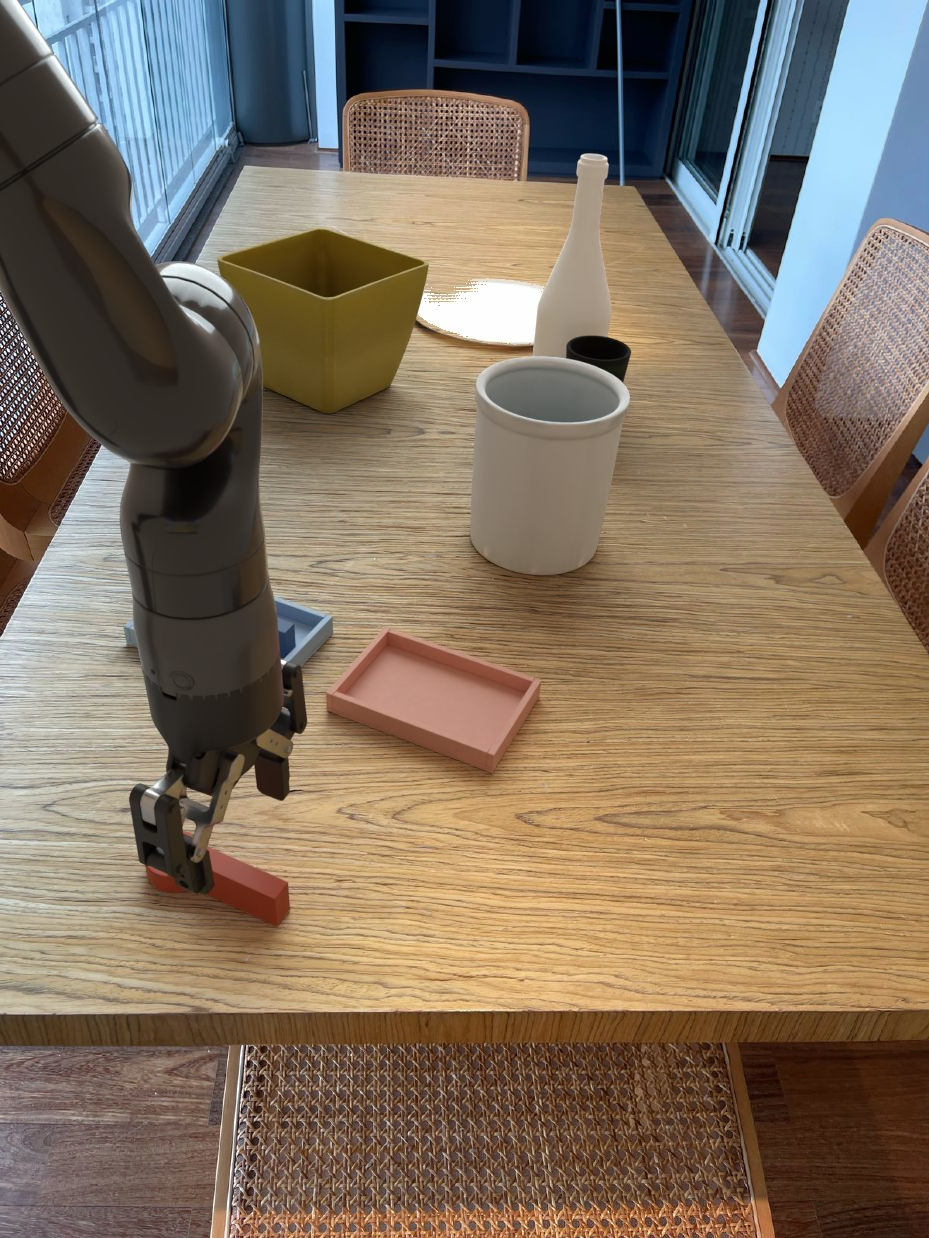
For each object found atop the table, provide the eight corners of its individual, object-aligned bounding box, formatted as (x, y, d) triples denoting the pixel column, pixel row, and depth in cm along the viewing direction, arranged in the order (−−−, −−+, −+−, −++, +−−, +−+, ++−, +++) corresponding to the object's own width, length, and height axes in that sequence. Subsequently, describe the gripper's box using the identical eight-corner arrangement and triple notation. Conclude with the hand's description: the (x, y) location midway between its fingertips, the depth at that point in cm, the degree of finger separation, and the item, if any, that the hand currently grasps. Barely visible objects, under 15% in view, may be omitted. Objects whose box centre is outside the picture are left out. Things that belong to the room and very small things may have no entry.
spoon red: (299, 896, 69) (298, 868, 67) (267, 941, 66) (264, 913, 64) (171, 839, 72) (166, 811, 70) (135, 879, 69) (128, 851, 67)
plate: (595, 293, 168) (596, 285, 167) (587, 361, 145) (588, 353, 144) (424, 274, 170) (424, 267, 170) (389, 338, 147) (389, 330, 147)
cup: (542, 435, 126) (553, 344, 118) (583, 419, 130) (596, 330, 123) (587, 459, 121) (601, 366, 114) (628, 442, 126) (644, 351, 118)
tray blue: (333, 633, 92) (332, 616, 91) (271, 699, 84) (269, 681, 83) (196, 585, 97) (194, 568, 95) (126, 643, 89) (122, 626, 88)
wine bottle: (610, 392, 137) (647, 157, 119) (578, 416, 131) (612, 171, 112) (550, 373, 141) (577, 143, 123) (515, 395, 134) (539, 156, 116)
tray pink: (539, 697, 87) (541, 679, 85) (492, 773, 79) (494, 755, 78) (384, 643, 91) (384, 626, 90) (326, 710, 84) (325, 692, 83)
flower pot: (428, 386, 135) (433, 260, 125) (331, 433, 123) (328, 298, 112) (324, 346, 144) (321, 226, 133) (224, 387, 131) (212, 258, 121)
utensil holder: (622, 575, 102) (652, 419, 91) (480, 585, 99) (494, 425, 89) (580, 501, 113) (603, 354, 103) (452, 508, 111) (461, 357, 100)
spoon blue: (303, 642, 90) (302, 616, 88) (278, 667, 87) (277, 641, 85) (203, 607, 93) (200, 580, 91) (176, 630, 90) (173, 603, 88)
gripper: (229, 562, 61) (251, 749, 71) (65, 702, 51) (117, 898, 61) (335, 597, 59) (342, 785, 69) (186, 750, 49) (220, 946, 59)
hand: (237, 838), depth 65 cm, fingers open, 8 cm apart
